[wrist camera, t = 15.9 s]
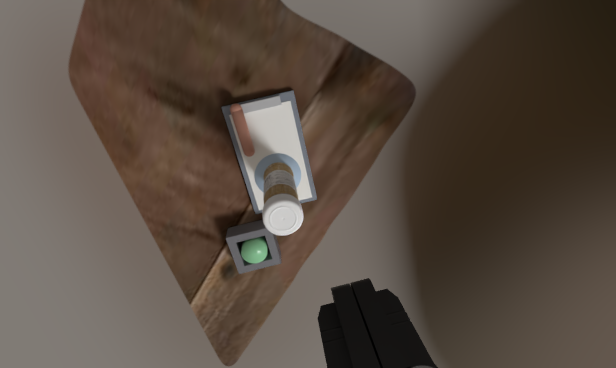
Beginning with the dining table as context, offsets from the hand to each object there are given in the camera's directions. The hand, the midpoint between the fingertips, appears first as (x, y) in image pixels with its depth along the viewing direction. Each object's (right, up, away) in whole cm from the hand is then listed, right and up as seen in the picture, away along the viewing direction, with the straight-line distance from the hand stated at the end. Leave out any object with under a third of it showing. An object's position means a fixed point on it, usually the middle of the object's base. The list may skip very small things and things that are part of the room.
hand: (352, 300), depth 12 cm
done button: (-10, -5, +38) cm, 40 cm away
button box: (-10, -5, +39) cm, 41 cm away
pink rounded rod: (-11, +12, +31) cm, 35 cm away
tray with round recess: (-7, +9, +34) cm, 35 cm away
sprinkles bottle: (-6, +6, +34) cm, 35 cm away
